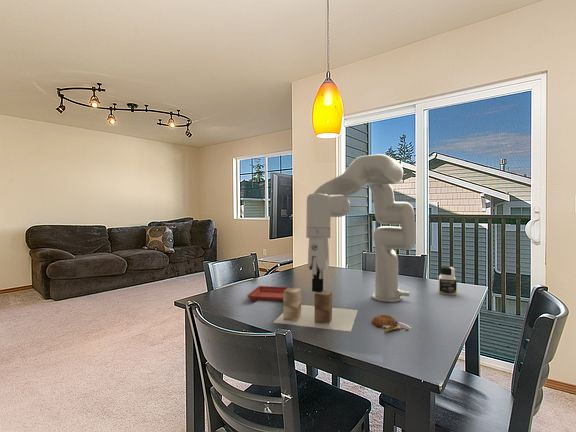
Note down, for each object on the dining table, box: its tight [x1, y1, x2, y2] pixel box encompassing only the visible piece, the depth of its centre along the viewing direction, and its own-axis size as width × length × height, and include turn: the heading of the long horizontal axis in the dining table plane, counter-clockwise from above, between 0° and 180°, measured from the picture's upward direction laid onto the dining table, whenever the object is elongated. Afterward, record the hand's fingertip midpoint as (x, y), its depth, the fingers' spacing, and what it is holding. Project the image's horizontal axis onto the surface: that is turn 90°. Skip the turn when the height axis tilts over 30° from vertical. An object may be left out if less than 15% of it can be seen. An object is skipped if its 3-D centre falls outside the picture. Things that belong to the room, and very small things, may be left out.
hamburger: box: [371, 314, 412, 334], centre depth 109 cm, size 14×14×6 cm
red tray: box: [247, 285, 291, 303], centre depth 145 cm, size 18×18×3 cm
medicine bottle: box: [438, 265, 458, 296], centre depth 153 cm, size 7×7×12 cm
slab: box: [272, 304, 359, 332], centre depth 117 cm, size 26×22×1 cm
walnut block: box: [314, 290, 333, 325], centre depth 111 cm, size 5×5×10 cm
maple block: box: [282, 287, 302, 321], centre depth 115 cm, size 5×5×10 cm
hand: (317, 291), depth 103 cm, fingers closed
